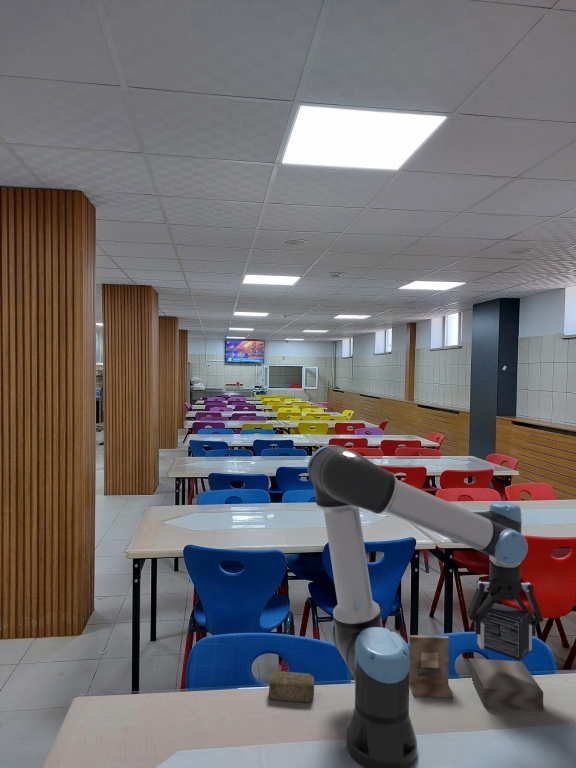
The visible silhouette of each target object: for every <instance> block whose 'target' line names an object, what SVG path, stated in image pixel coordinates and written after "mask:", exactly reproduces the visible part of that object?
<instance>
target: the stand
mask: <svg viewBox="0 0 576 768" xmlns="http://www.w3.org/2000/svg"><path fill="white" fill-rule="evenodd" d="M449 640H450V638H449V636H447V635H419V634H417V635H416V634H414V635H413V634H412V635H411V634H409V658H410V675H409V689H410V690H411V693H412V696H413V697H434V698H435V697H438V698H453V697H454V694H453V690H452V689H451V687H450V685H449V665H450V664H449V658H450V657H449V656H450V654H449V653H450V649H449V648H450V641H449Z"/></svg>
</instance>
